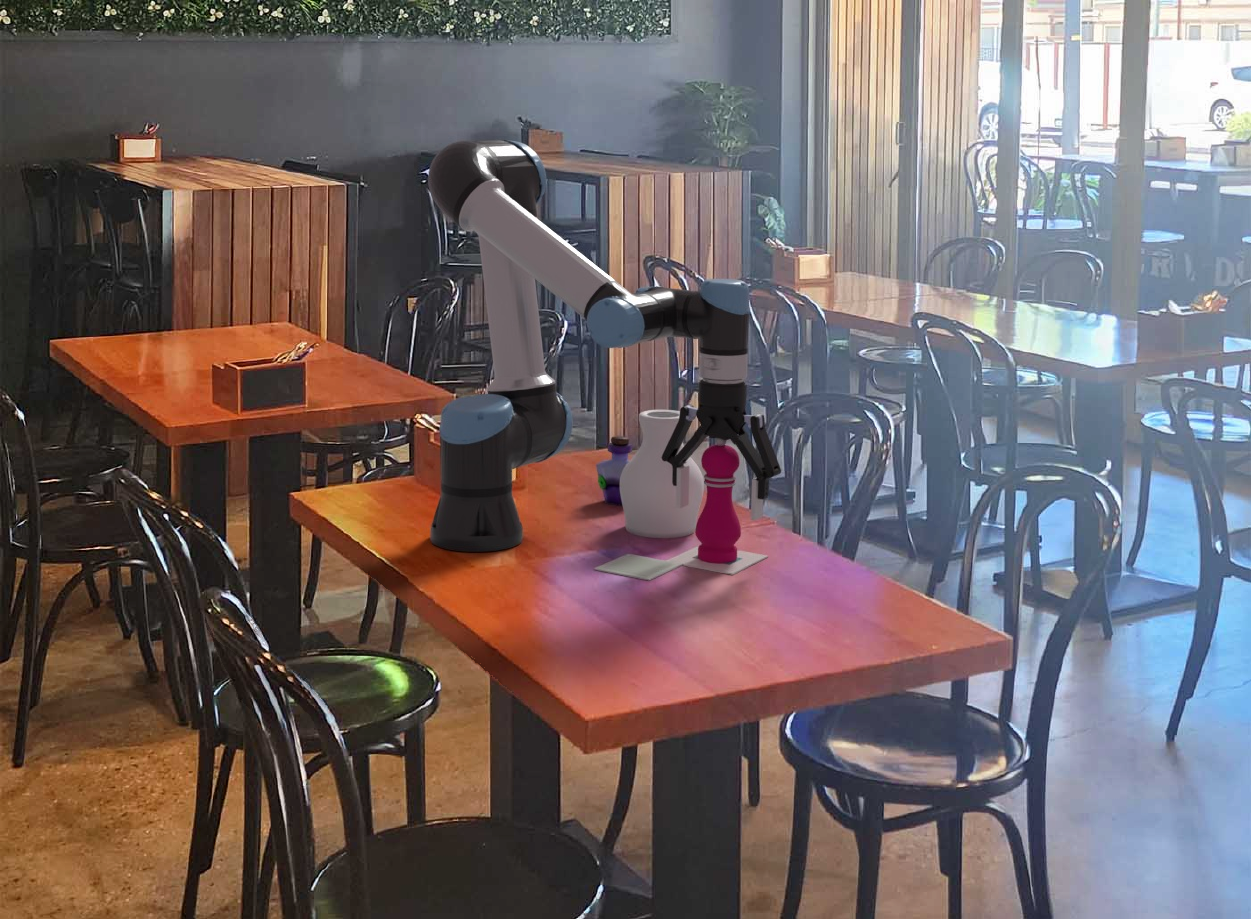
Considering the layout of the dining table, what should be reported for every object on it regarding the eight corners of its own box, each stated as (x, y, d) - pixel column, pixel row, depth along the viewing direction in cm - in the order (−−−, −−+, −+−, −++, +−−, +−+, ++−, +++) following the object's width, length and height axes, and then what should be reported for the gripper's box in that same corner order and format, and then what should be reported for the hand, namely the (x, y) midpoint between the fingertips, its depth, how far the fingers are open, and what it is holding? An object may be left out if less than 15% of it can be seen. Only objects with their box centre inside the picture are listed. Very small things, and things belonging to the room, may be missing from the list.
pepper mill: (736, 566, 253) (741, 441, 248) (691, 562, 254) (694, 438, 250) (742, 553, 259) (747, 432, 255) (698, 550, 261) (701, 429, 256)
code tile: (665, 562, 255) (665, 560, 255) (702, 545, 265) (702, 543, 265) (732, 574, 249) (732, 573, 249) (768, 557, 259) (768, 555, 259)
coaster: (594, 569, 250) (594, 568, 250) (628, 555, 258) (628, 553, 258) (649, 580, 245) (649, 579, 245) (682, 565, 253) (682, 563, 253)
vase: (683, 515, 284) (686, 403, 279) (715, 536, 271) (719, 419, 266) (607, 521, 279) (608, 407, 274) (636, 543, 266) (638, 424, 261)
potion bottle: (585, 501, 292) (586, 436, 289) (616, 493, 298) (617, 430, 296) (621, 510, 286) (622, 444, 284) (652, 501, 293) (653, 436, 290)
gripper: (642, 374, 254) (639, 505, 258) (783, 391, 241) (778, 529, 246) (666, 368, 260) (663, 496, 264) (805, 384, 247) (800, 518, 252)
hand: (719, 512), depth 255 cm, fingers open, 13 cm apart
